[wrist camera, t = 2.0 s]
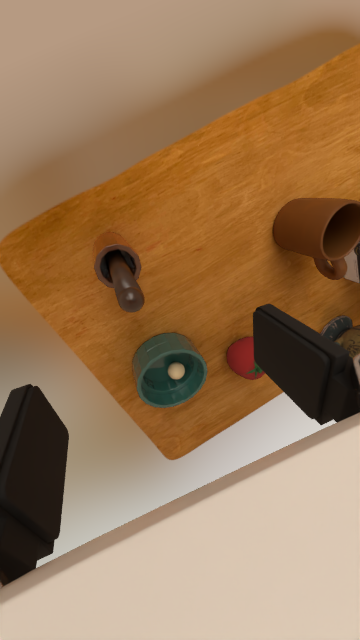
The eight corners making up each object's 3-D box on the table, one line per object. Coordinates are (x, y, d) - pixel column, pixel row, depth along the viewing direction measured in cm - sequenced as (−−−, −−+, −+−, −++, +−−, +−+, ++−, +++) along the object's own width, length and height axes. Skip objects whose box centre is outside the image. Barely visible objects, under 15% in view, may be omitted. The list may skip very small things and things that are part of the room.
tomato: (244, 366, 50) (265, 390, 44) (214, 360, 46) (233, 385, 40) (263, 334, 47) (289, 355, 41) (233, 325, 44) (257, 347, 38)
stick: (107, 259, 31) (123, 320, 16) (102, 245, 30) (115, 296, 15) (120, 255, 31) (149, 312, 16) (116, 241, 30) (143, 288, 15)
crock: (100, 270, 31) (103, 293, 24) (88, 236, 29) (87, 251, 22) (132, 261, 32) (145, 282, 25) (122, 228, 30) (134, 239, 22)
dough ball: (167, 374, 43) (172, 385, 40) (164, 362, 41) (169, 372, 39) (182, 368, 44) (188, 379, 41) (180, 356, 42) (185, 366, 39)
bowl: (141, 394, 44) (147, 417, 39) (123, 345, 38) (127, 365, 33) (198, 372, 46) (210, 392, 41) (189, 322, 40) (202, 339, 35)
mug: (317, 255, 42) (368, 268, 35) (282, 278, 42) (326, 297, 34) (306, 187, 36) (368, 186, 28) (265, 214, 36) (316, 220, 28)
